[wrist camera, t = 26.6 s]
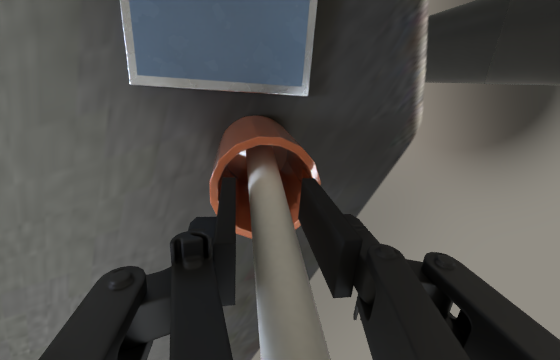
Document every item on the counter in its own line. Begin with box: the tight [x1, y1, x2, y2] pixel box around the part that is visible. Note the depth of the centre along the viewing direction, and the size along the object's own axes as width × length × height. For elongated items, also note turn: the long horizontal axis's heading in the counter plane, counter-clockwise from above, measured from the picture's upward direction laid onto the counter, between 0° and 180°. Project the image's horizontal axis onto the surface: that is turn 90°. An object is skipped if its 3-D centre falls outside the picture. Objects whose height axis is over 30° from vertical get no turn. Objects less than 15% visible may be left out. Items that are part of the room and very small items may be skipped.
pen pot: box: [210, 115, 321, 239], centre depth 21 cm, size 7×7×10 cm
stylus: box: [246, 145, 331, 360], centre depth 16 cm, size 2×2×20 cm
